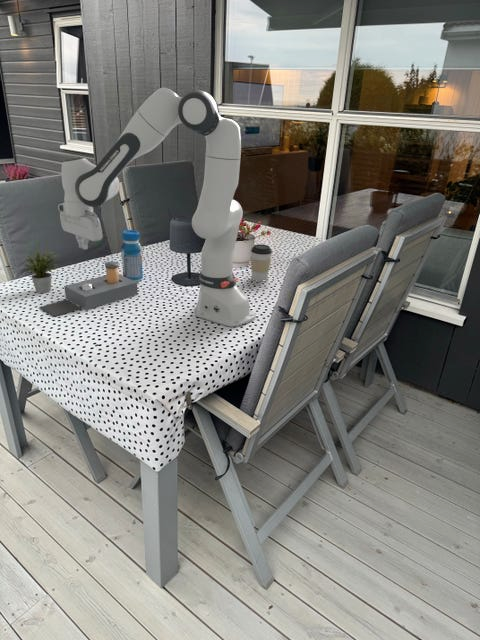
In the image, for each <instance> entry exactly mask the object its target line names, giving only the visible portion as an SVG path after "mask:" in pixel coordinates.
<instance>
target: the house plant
mask: <svg viewBox="0 0 480 640" xmlns="http://www.w3.org/2000/svg"><path fill="white" fill-rule="evenodd" d="M54 252H55V251H51V252H49V253H48V249H46V250H45V252H44V253H43V254H42V256H41V255H40V253H39V250H38V249H37V248H35V257H34V256H33V255H30V254H29V255H28V254H25V255H26V256H25V258H22V261H26V262H28V264H23V267H27V268H30V269H28V272H27V273H28V275H30V274H31V276H30V277H31V280H32V283H33V285H34V289H35V291H36V293H38V294H47V293H50V292H52V276H53V275H52V270H51V269H53V268H54V269H55V268H58V266H59V263H52V262H55V261H59V260H61V258H56V257H58V256H60V255H59V254H58V255H53V256H51V255H52V254H53V253H54ZM47 253H48V254H47ZM45 256H46V257H45ZM50 263H52V264H50Z"/></svg>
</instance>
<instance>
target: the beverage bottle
mask: <svg viewBox="0 0 480 640" xmlns="http://www.w3.org/2000/svg"><path fill="white" fill-rule="evenodd" d="M121 233H122V234H121V235H122V236H121V237H122V240H123V243H122V245H121V247H120V248H121V249H120V250H121V254H120V257H121V260H122V261H121V262H122V263H121V264H122V276H124V277H126V278H129V279H131V280H133V281H135V282H137V283H138V282H140V281H142V280H143V278H144V275H143V252H142V250H143V247H142V245H141V243H140V242H139V241H140V238H141V237H140V232H139V231H138V230H136V229H127V230H123V231H122V232H121Z"/></svg>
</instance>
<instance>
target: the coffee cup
mask: <svg viewBox="0 0 480 640" xmlns="http://www.w3.org/2000/svg"><path fill="white" fill-rule="evenodd" d="M250 252H251V255H250V259H251V260H250V264H251V265H250V268H251V280H252V279H254V280H257V281H263V280H266V279H267V280H268V275H269V271H270V266H271V259H272V253H273V251H272V249H271V247H270V246H269V245H267V244H254V245H253V246H252V247H251V249H250ZM254 280H253V281H254ZM267 280H266V281H267ZM257 281H256V282H257Z"/></svg>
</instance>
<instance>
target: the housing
mask: <svg viewBox="0 0 480 640" xmlns="http://www.w3.org/2000/svg"><path fill="white" fill-rule="evenodd" d="M118 275H119V283H115V284H109V283H107V276H106V275H102V276H98V277H94V278H90V279H86V280H82V281H79V282H74V283H70V284H66V285H64V295H65V300H68V301H70V302H71V303H73V304H75V305H77V306H79V307H80V308H81V309H84V310H86V311H88V310H89V311H90V310H92V309H95V308H98V307H101V306H105V305H108V304H112V303H114V302H117V301H121V300H124V299H127V298H130V297H134V296H137V295H139V291H138V290H139V289H138V281H137V282H135V281H133V280H131V279H129V278H126V277H124V276H123V274H122V275H121V274H119V273H118ZM83 283H92V289H91V290H88V291H84V290H82V284H83Z"/></svg>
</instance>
